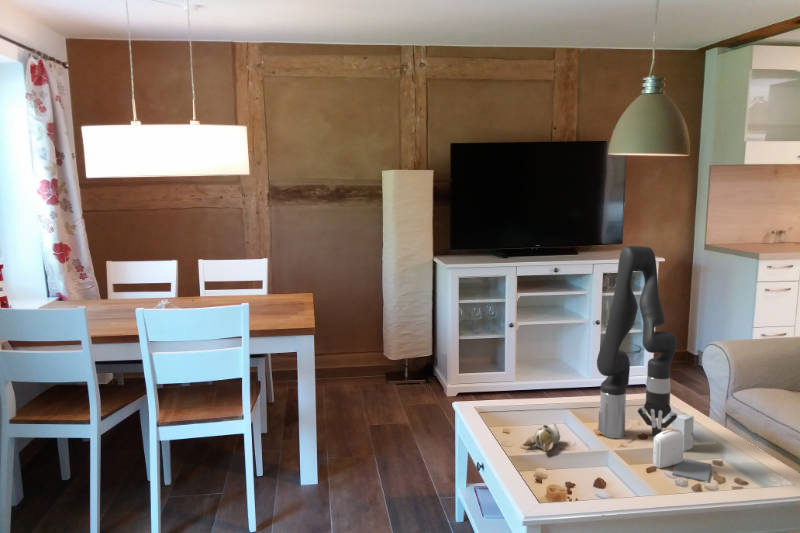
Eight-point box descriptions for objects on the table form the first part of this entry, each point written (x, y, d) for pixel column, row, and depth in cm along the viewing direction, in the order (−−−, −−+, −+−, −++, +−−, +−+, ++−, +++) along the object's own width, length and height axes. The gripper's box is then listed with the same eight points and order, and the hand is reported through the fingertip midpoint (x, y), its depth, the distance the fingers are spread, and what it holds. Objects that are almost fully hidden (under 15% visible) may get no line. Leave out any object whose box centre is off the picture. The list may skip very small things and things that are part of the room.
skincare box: (684, 452, 210) (685, 419, 208) (672, 447, 213) (673, 416, 212) (693, 447, 213) (694, 416, 212) (681, 443, 217) (683, 412, 215)
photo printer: (659, 470, 196) (660, 438, 193) (650, 463, 200) (651, 431, 197) (684, 463, 199) (686, 431, 195) (675, 456, 203) (677, 424, 199)
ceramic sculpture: (567, 422, 216) (546, 436, 206) (568, 444, 217) (547, 459, 207) (542, 415, 224) (520, 429, 213) (542, 437, 225) (521, 451, 214)
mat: (672, 475, 192) (672, 473, 192) (677, 458, 204) (677, 457, 204) (708, 482, 187) (708, 480, 187) (711, 465, 199) (711, 463, 199)
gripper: (635, 389, 199) (634, 437, 201) (677, 395, 192) (676, 445, 194) (639, 383, 205) (638, 430, 207) (680, 389, 198) (679, 437, 200)
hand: (656, 437), depth 200 cm, fingers closed
